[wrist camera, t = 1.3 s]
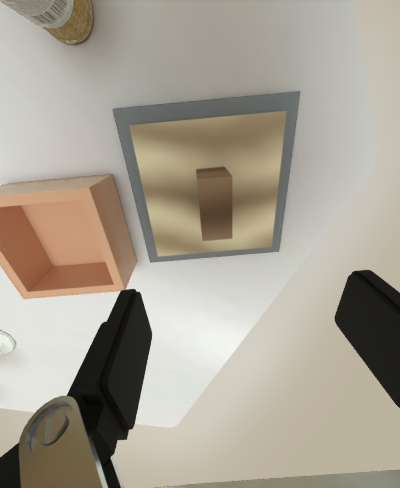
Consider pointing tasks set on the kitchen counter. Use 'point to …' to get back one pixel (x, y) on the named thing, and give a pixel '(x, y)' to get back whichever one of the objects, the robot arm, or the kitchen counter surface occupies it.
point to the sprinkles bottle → (58, 17)
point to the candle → (6, 343)
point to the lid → (211, 181)
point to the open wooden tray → (65, 237)
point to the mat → (201, 111)
